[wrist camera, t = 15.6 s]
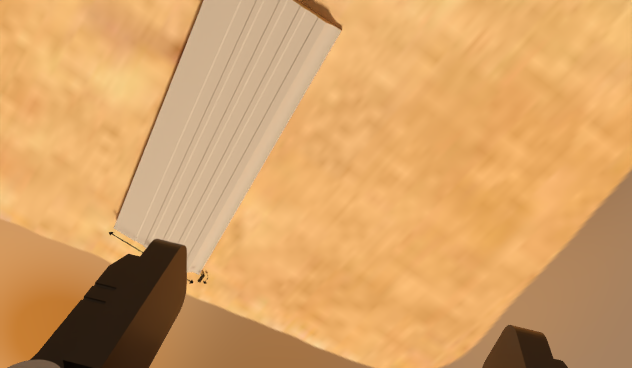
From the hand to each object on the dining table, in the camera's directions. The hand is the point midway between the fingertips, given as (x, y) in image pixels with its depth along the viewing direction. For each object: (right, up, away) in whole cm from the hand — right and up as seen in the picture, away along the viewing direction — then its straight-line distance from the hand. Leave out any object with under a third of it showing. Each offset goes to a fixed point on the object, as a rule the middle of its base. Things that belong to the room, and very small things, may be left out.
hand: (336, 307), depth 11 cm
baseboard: (-10, +7, +32) cm, 34 cm away
